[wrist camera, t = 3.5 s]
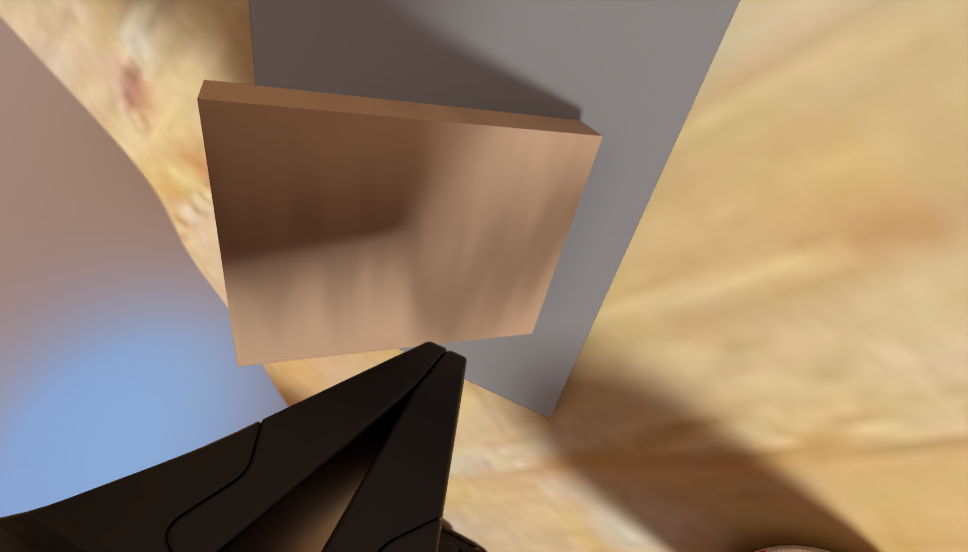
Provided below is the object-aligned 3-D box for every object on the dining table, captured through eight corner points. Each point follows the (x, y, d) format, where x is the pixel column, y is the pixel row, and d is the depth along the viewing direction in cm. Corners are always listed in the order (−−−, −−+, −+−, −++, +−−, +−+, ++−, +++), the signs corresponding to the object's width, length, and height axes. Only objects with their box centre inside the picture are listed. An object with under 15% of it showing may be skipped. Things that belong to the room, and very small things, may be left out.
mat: (552, 411, 19) (549, 418, 19) (277, 286, 22) (271, 290, 21) (762, -53, 10) (764, -56, 10) (247, -165, 13) (235, -170, 12)
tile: (531, 333, 16) (237, 366, 12) (517, 308, 17) (239, 332, 13) (602, 136, 12) (197, 98, 8) (577, 118, 13) (204, 78, 9)
